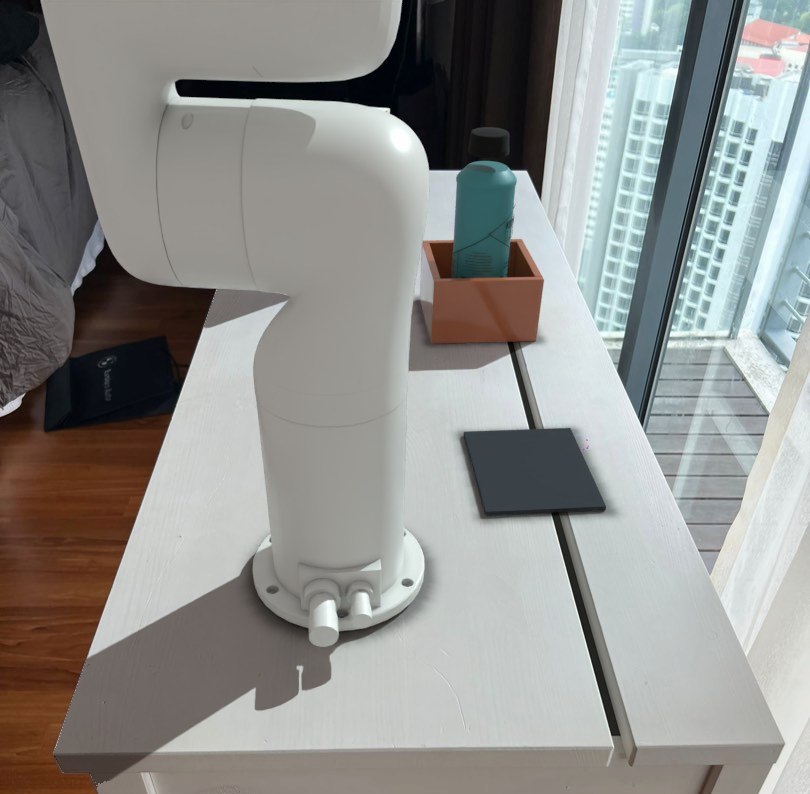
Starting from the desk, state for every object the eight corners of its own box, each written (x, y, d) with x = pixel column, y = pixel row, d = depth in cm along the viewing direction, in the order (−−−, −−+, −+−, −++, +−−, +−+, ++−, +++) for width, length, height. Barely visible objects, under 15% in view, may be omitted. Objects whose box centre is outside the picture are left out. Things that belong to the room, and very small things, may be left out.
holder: (536, 341, 92) (544, 279, 87) (431, 343, 91) (433, 281, 86) (515, 296, 101) (521, 238, 96) (419, 298, 100) (421, 240, 95)
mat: (605, 510, 69) (606, 506, 69) (485, 515, 68) (485, 511, 68) (569, 431, 78) (570, 427, 78) (463, 435, 77) (463, 431, 77)
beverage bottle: (449, 332, 93) (460, 138, 80) (445, 306, 98) (454, 120, 86) (507, 332, 93) (527, 139, 81) (500, 306, 99) (518, 121, 86)
